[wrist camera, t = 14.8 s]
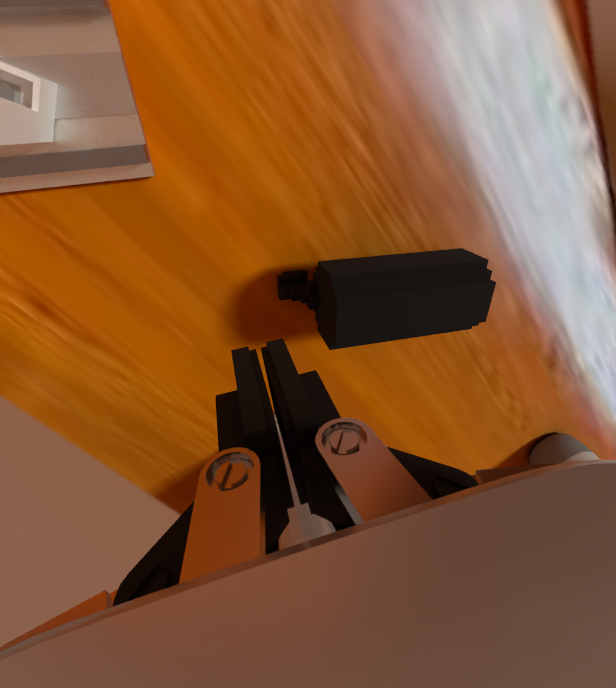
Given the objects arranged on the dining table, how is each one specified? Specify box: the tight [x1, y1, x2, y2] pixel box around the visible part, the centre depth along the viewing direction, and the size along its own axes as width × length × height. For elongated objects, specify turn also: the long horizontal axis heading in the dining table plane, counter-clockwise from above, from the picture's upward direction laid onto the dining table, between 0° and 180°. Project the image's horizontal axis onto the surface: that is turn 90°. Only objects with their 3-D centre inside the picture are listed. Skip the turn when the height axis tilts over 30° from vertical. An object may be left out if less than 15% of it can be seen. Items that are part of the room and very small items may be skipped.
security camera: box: [277, 248, 496, 350], centre depth 35 cm, size 7×18×10 cm, turn 91°
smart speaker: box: [529, 433, 600, 465], centre depth 60 cm, size 10×9×14 cm
